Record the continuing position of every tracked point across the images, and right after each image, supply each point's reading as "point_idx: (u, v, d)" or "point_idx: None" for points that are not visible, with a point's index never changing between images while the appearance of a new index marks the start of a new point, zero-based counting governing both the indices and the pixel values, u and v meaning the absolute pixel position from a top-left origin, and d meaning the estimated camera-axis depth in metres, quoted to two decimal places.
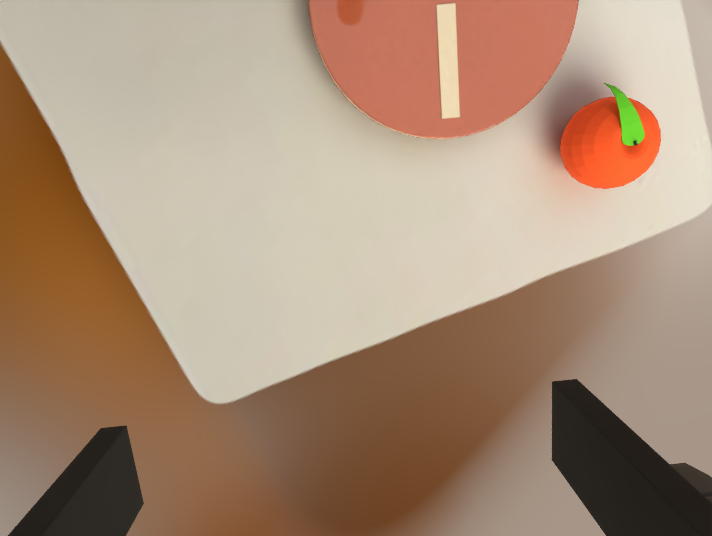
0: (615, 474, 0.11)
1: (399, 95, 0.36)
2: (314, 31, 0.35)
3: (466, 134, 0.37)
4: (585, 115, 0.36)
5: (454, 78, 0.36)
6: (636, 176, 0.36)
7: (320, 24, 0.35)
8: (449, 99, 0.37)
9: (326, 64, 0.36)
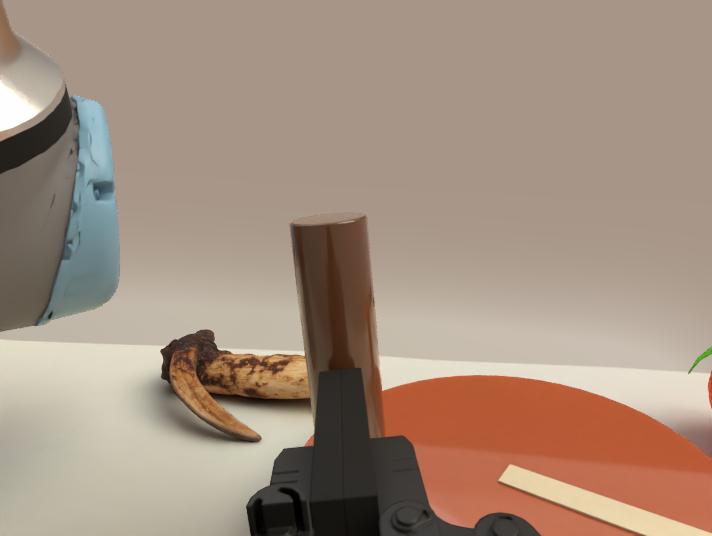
0: None
1: None
2: None
3: None
4: None
5: (631, 510, 0.19)
6: None
7: None
8: (672, 535, 0.18)
9: None
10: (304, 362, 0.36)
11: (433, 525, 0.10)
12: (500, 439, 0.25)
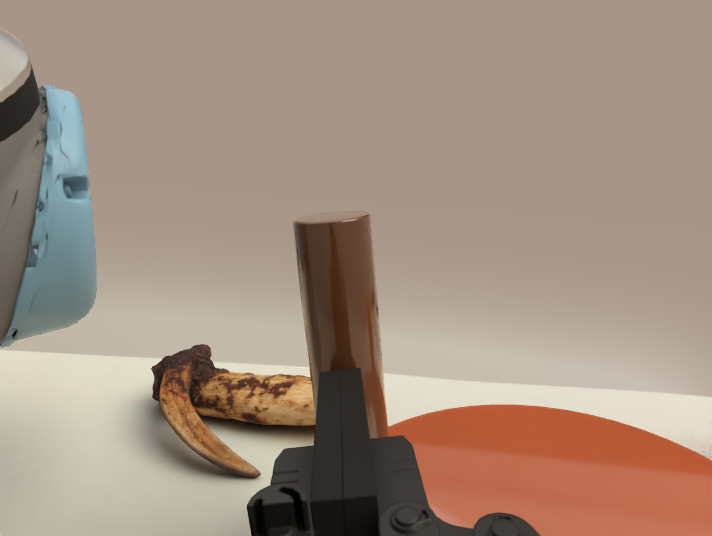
0: None
1: None
2: None
3: None
4: None
5: None
6: None
7: None
8: None
9: None
10: (309, 385, 0.33)
11: (432, 525, 0.10)
12: (577, 504, 0.20)
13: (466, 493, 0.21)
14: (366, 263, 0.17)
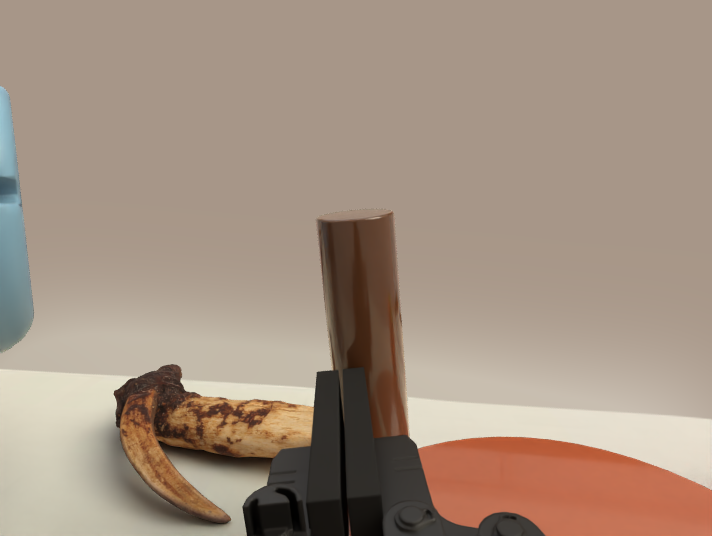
0: None
1: None
2: None
3: None
4: None
5: None
6: None
7: None
8: None
9: None
10: (288, 412, 0.29)
11: (437, 525, 0.10)
12: None
13: None
14: (375, 265, 0.16)
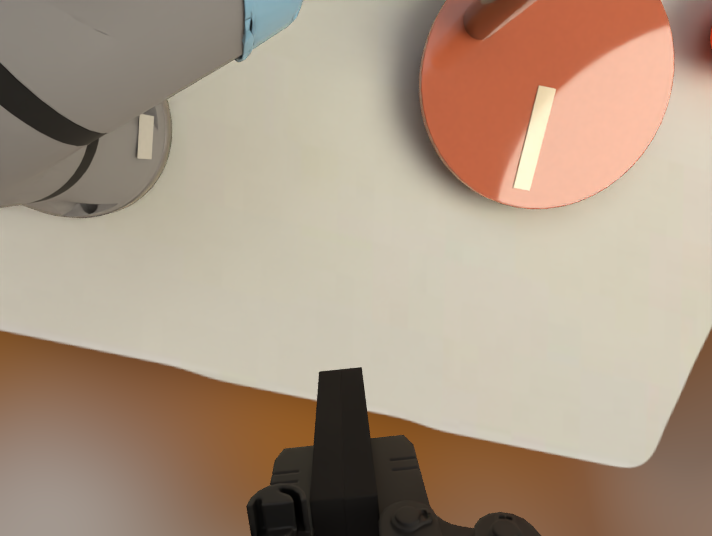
0: None
1: (481, 156, 0.38)
2: (422, 76, 0.37)
3: (530, 207, 0.40)
4: None
5: (535, 154, 0.38)
6: None
7: (429, 72, 0.37)
8: (524, 172, 0.39)
9: (424, 109, 0.37)
10: None
11: (433, 525, 0.10)
12: (581, 77, 0.37)
13: (542, 34, 0.37)
14: None
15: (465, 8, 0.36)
